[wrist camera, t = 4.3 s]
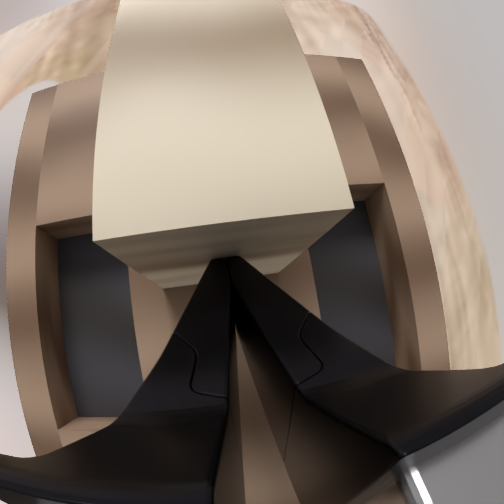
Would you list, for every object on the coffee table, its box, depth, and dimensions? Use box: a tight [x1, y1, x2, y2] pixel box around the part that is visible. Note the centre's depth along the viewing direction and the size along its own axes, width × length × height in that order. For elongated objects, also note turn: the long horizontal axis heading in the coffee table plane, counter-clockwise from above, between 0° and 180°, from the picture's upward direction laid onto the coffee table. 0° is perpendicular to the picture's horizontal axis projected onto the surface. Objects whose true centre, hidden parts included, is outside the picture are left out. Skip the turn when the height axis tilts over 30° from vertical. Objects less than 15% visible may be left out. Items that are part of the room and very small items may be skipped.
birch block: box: [92, 0, 354, 289], centre depth 10 cm, size 10×5×8 cm, turn 9°
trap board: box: [6, 54, 450, 504], centre depth 15 cm, size 29×22×3 cm
